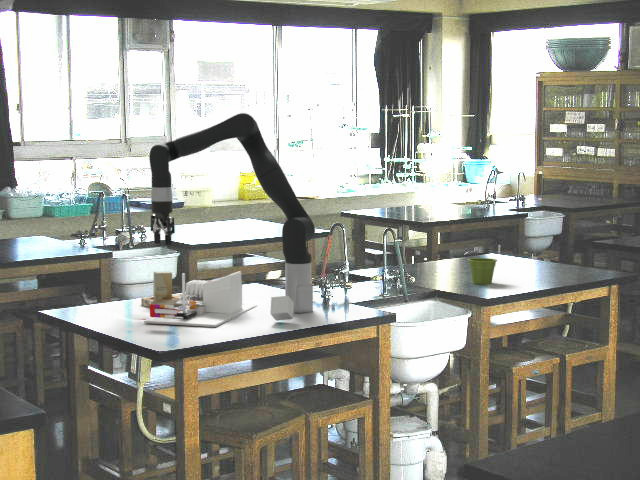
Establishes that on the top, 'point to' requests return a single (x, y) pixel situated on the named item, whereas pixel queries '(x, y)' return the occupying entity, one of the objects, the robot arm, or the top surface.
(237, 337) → the top surface
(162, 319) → the electronics kit
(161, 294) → the skincare box
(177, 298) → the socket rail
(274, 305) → the grey cube
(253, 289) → the top surface
